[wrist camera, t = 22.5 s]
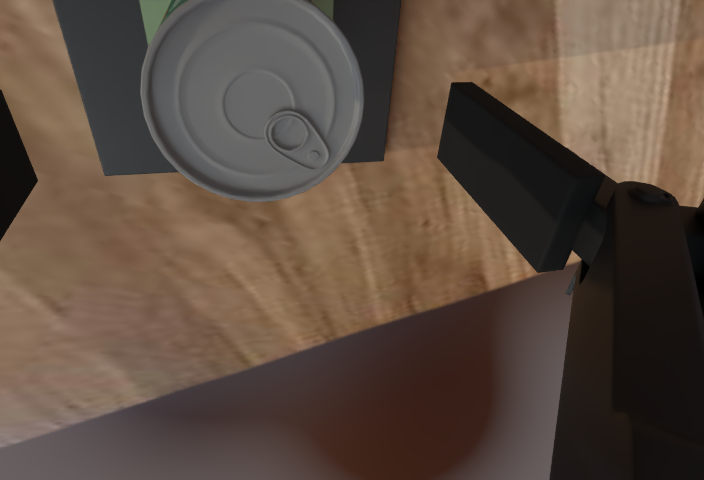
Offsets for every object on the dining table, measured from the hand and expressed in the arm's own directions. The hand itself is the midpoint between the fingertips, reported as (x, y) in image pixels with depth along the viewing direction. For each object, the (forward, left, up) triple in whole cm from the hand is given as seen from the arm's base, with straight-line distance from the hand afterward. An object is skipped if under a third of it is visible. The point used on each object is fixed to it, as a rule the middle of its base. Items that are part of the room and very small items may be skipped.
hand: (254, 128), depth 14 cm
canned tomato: (0, 0, -14) cm, 14 cm away
